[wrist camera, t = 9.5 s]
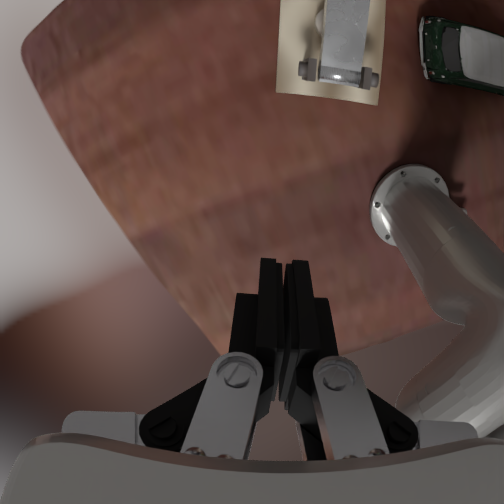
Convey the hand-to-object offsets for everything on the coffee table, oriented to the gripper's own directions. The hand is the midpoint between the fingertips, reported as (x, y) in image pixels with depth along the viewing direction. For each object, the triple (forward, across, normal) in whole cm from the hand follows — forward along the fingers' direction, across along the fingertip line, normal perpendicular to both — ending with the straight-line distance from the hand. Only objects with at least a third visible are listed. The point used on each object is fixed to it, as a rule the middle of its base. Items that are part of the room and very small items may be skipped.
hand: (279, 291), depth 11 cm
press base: (+29, -6, -16) cm, 34 cm away
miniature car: (+30, -26, -15) cm, 42 cm away
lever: (+22, -6, -17) cm, 29 cm away
